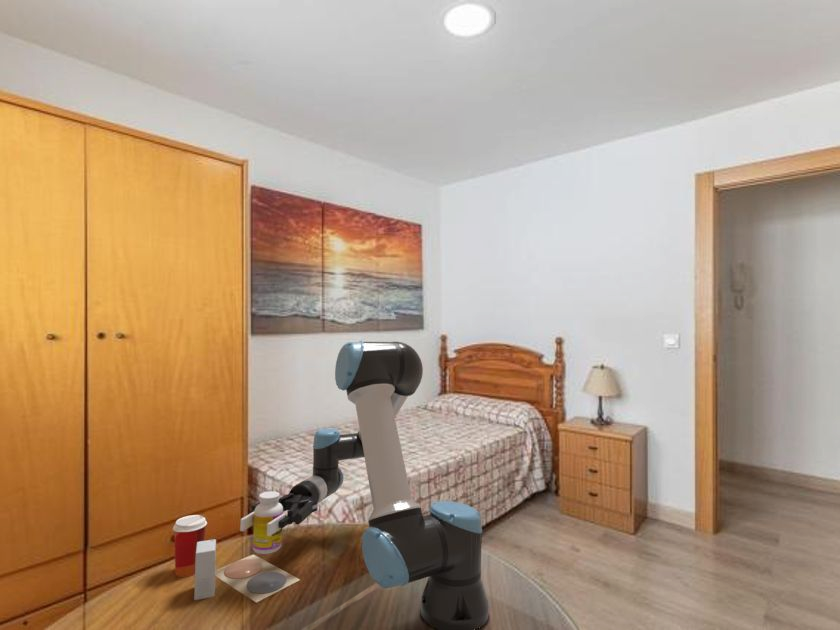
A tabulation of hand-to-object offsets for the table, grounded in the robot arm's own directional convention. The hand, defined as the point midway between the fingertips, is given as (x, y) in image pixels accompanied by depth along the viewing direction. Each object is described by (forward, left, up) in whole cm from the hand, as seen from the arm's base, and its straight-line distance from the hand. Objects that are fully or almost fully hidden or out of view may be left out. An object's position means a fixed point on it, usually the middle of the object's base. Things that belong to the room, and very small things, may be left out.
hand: (255, 527), depth 104 cm
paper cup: (+22, +4, -17) cm, 28 cm away
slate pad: (+2, -5, -15) cm, 16 cm away
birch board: (+7, -5, -16) cm, 18 cm away
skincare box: (+10, +6, -17) cm, 20 cm away
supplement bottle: (+2, -5, -7) cm, 9 cm away
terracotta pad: (+12, -5, -15) cm, 19 cm away
